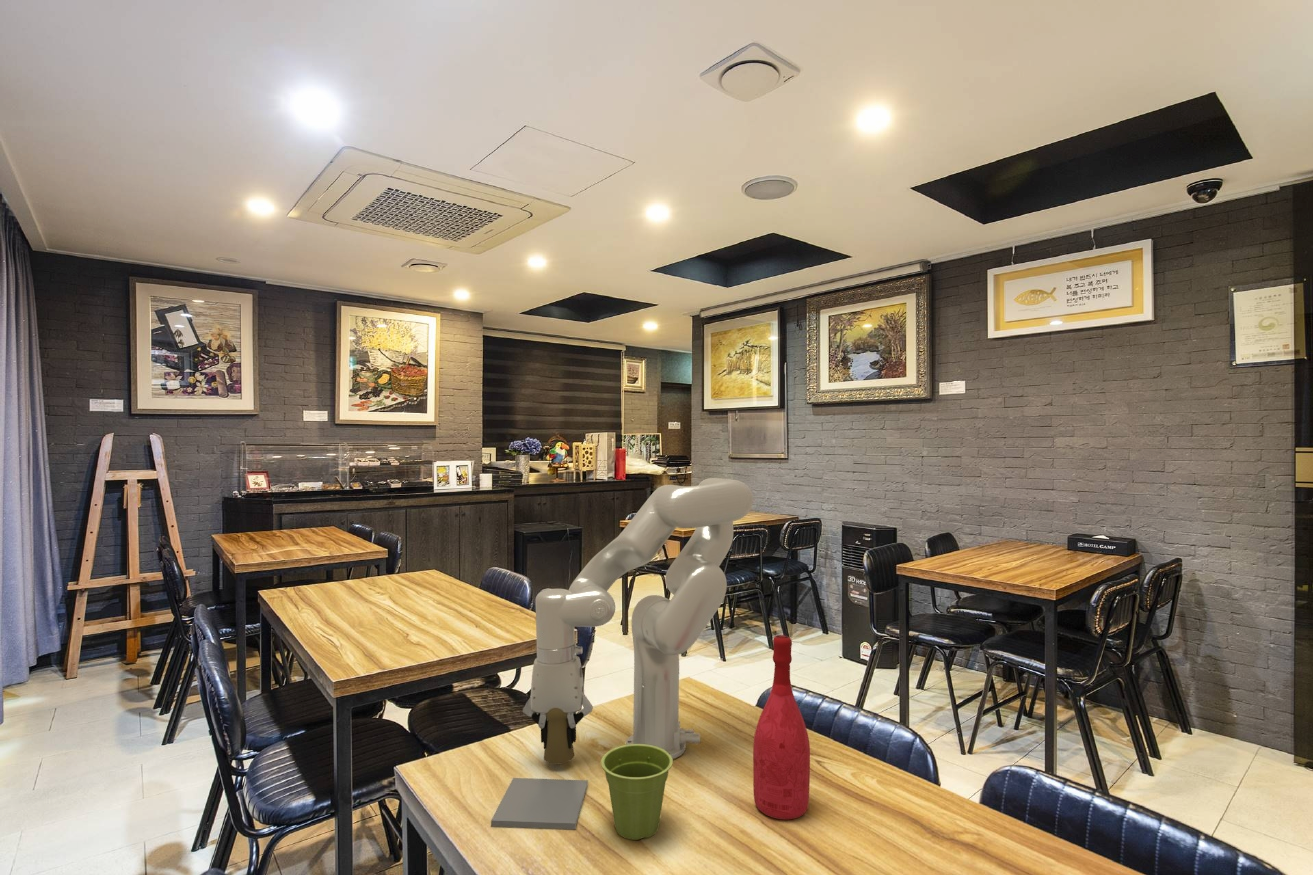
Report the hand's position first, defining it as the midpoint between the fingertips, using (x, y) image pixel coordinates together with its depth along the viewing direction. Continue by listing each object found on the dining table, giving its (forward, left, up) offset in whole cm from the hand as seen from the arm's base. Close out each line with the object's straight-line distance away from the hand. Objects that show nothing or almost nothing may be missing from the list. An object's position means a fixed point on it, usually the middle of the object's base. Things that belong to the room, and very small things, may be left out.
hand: (558, 744), depth 128 cm
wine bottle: (-42, +12, -4) cm, 44 cm away
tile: (0, +15, -4) cm, 15 cm away
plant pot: (-17, +21, -4) cm, 27 cm away
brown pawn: (0, 0, -3) cm, 3 cm away
